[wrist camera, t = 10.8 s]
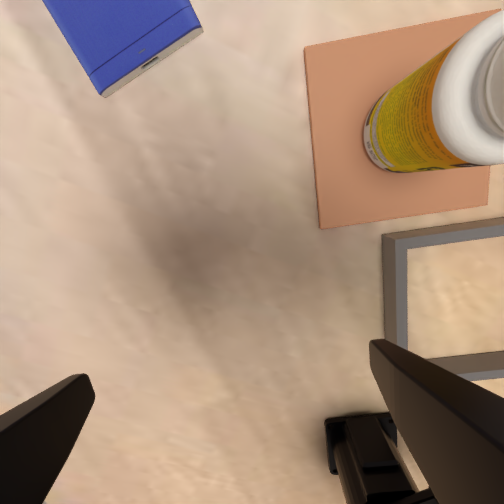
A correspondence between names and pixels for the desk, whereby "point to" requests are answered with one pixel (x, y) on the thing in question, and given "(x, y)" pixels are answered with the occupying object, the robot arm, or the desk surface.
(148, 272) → the desk surface
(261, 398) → the desk surface
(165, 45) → the hard drive
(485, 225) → the square frame
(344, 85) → the pad
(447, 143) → the supplement bottle
